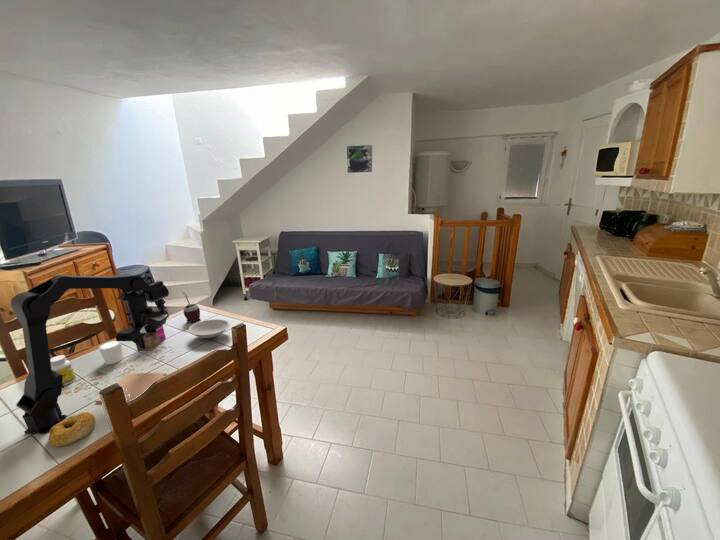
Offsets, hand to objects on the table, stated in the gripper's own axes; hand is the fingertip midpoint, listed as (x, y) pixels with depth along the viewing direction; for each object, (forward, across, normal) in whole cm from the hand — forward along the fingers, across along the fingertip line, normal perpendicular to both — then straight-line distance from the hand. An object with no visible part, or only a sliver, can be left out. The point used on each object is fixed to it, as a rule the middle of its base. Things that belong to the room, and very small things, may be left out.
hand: (148, 344), depth 113 cm
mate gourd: (+9, +36, +5) cm, 37 cm away
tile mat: (+9, -13, -2) cm, 16 cm away
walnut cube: (+1, 0, 0) cm, 1 cm away
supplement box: (+9, +17, +11) cm, 22 cm away
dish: (+9, +21, -12) cm, 26 cm away
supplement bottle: (+9, -10, +25) cm, 29 cm away
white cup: (+9, +3, +18) cm, 20 cm away
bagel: (+9, -32, +1) cm, 33 cm away
